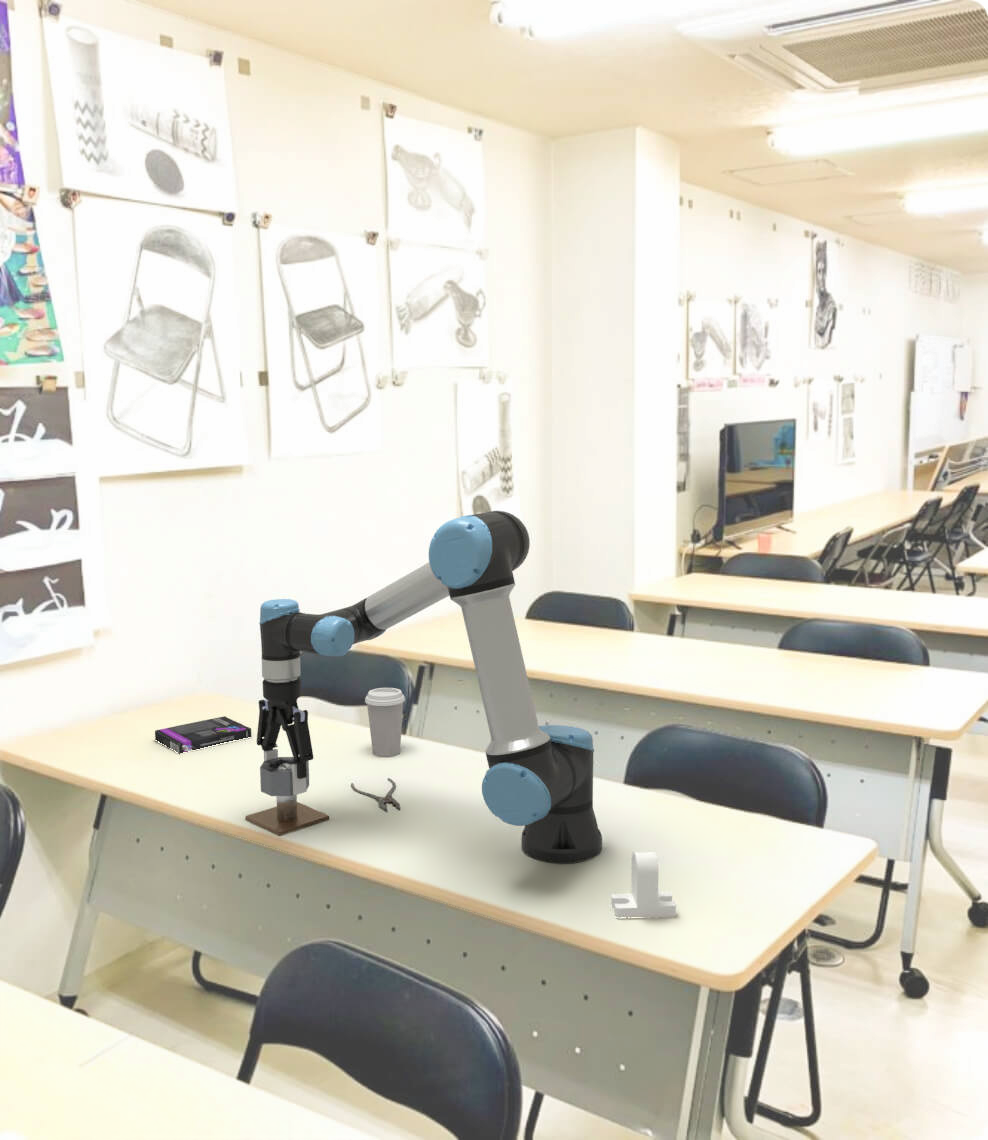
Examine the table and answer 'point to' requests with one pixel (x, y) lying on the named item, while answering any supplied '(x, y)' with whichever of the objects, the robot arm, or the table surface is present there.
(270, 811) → the piston post
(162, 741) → the box
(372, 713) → the coffee cup
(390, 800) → the pliers
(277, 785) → the ring
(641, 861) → the white bearing bracket
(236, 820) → the table surface
